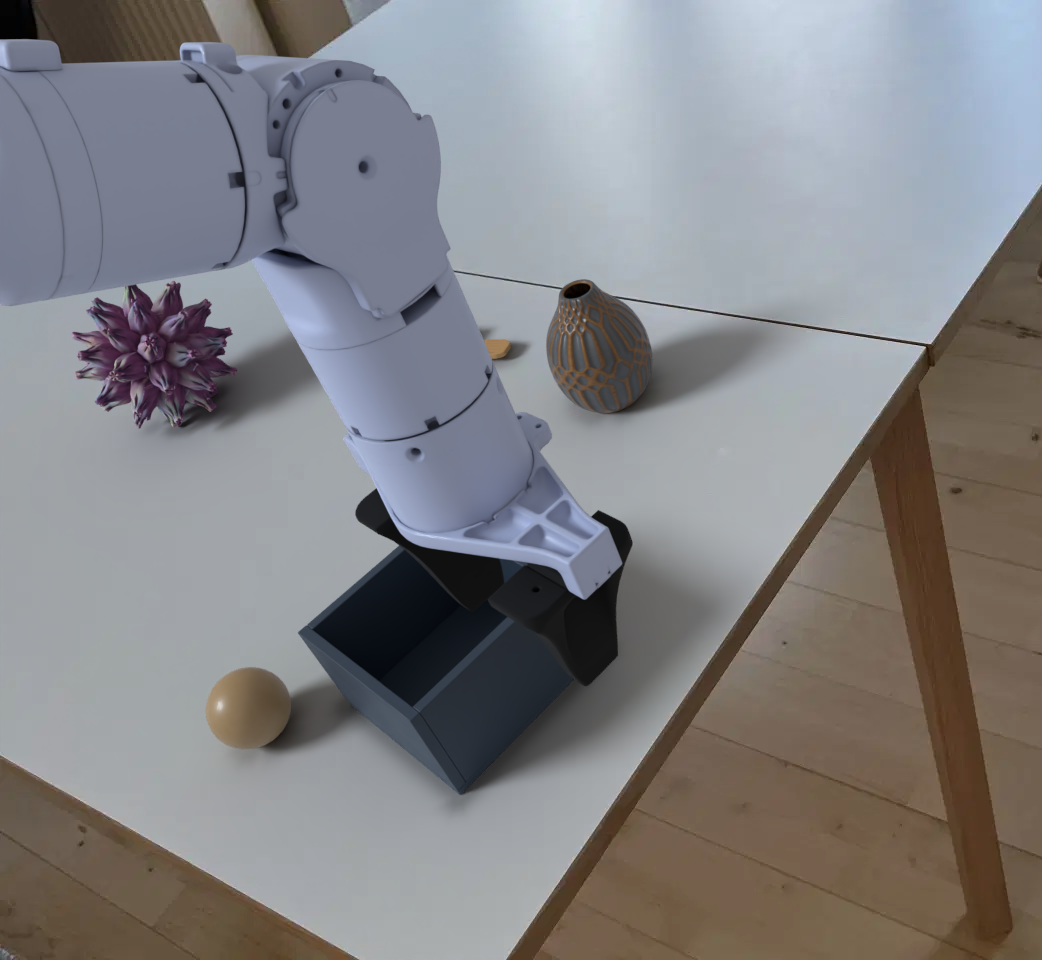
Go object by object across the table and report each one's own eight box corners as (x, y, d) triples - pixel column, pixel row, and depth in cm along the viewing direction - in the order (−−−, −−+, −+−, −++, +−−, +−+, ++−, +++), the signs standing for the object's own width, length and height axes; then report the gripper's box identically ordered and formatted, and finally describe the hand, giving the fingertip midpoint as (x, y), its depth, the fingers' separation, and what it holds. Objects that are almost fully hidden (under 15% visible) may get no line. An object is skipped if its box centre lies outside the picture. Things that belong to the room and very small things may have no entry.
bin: (460, 795, 55) (410, 721, 51) (349, 704, 62) (297, 632, 57) (598, 654, 59) (562, 576, 55) (481, 583, 66) (441, 508, 62)
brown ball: (255, 779, 59) (213, 732, 57) (217, 741, 62) (176, 694, 59) (319, 720, 61) (282, 672, 58) (279, 686, 64) (242, 638, 61)
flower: (269, 428, 88) (112, 478, 84) (237, 360, 96) (93, 402, 92) (227, 299, 80) (53, 347, 76) (196, 238, 89) (39, 278, 85)
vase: (676, 364, 77) (644, 257, 71) (641, 430, 72) (604, 322, 67) (589, 362, 80) (551, 259, 74) (550, 425, 75) (507, 321, 70)
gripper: (634, 377, 36) (720, 635, 45) (389, 285, 46) (500, 514, 55) (479, 511, 34) (603, 760, 42) (251, 384, 43) (392, 610, 52)
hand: (538, 629), depth 48 cm, fingers open, 7 cm apart
